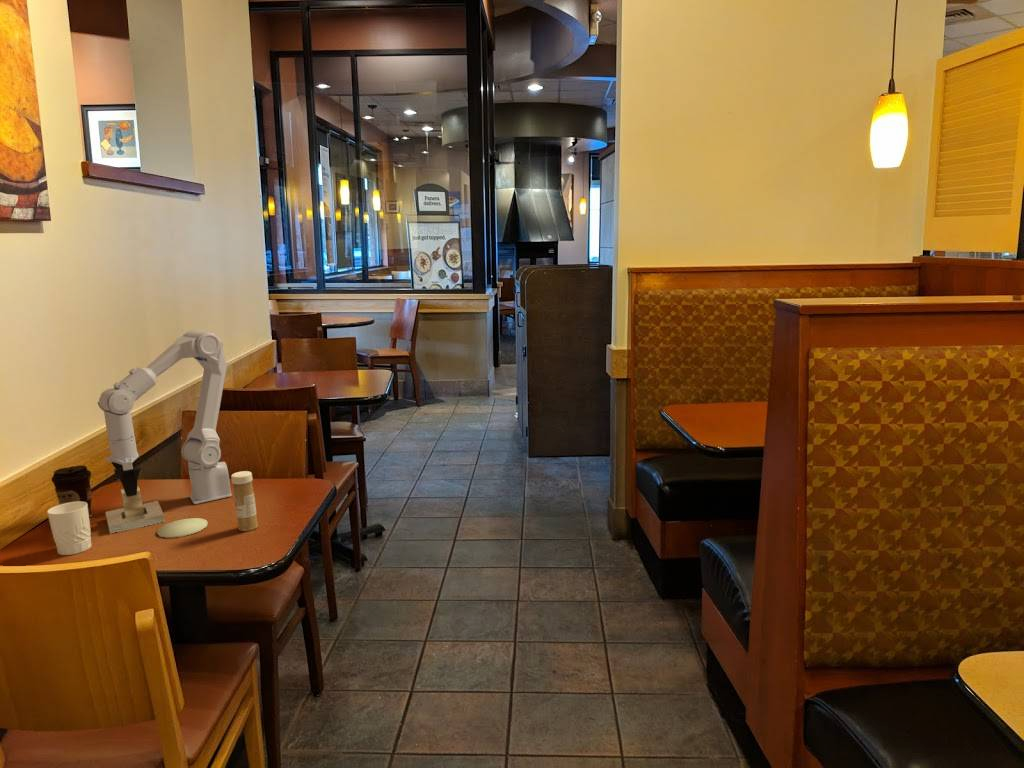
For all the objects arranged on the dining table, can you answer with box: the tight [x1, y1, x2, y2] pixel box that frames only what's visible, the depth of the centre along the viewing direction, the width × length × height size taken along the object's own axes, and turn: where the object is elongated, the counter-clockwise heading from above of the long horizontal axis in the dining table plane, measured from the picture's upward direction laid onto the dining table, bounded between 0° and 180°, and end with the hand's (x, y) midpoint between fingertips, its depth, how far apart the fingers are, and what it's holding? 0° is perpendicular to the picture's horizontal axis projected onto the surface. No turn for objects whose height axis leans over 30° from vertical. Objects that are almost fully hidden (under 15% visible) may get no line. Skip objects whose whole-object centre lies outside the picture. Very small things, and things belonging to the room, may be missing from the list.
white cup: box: [46, 501, 92, 556], centre depth 171 cm, size 8×8×10 cm
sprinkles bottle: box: [230, 470, 259, 532], centre depth 177 cm, size 5×5×13 cm
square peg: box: [120, 485, 144, 518], centre depth 187 cm, size 4×4×8 cm
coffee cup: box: [51, 465, 93, 516], centre depth 191 cm, size 9×8×13 cm
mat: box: [156, 517, 209, 539], centre depth 181 cm, size 11×11×1 cm
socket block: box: [104, 500, 166, 535], centre depth 188 cm, size 12×12×2 cm
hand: (130, 491), depth 187 cm, fingers open, 7 cm apart
